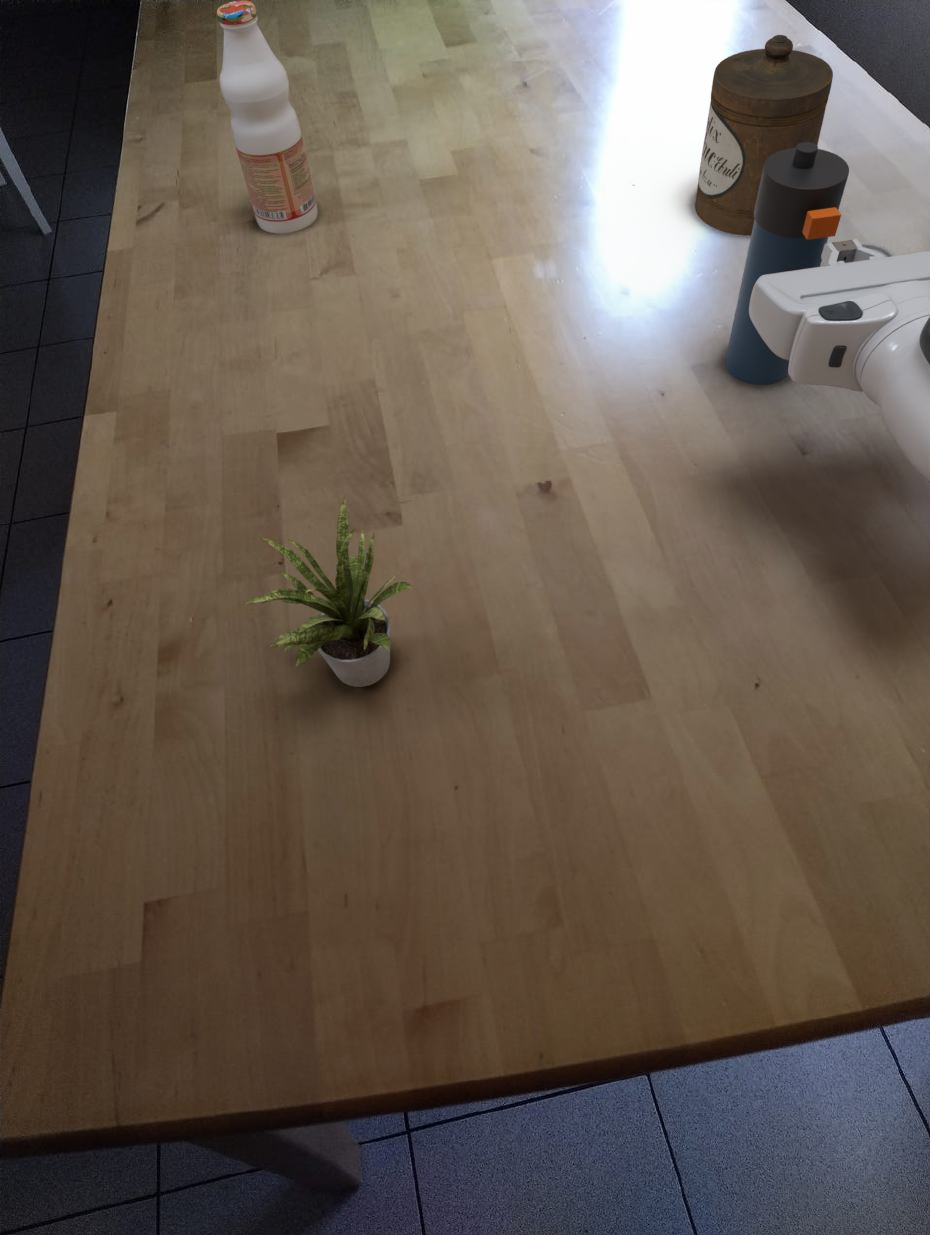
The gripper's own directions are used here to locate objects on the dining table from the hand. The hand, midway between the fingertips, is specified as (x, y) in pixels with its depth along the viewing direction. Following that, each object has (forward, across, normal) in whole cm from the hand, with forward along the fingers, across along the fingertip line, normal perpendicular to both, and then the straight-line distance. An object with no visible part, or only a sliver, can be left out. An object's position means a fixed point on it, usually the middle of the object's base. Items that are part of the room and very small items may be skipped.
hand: (837, 248), depth 81 cm
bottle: (+10, 0, +21) cm, 24 cm away
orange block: (+4, 0, +1) cm, 4 cm away
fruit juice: (+58, +56, +21) cm, 84 cm away
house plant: (-23, +50, +21) cm, 59 cm away
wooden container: (+43, -10, +22) cm, 49 cm away
